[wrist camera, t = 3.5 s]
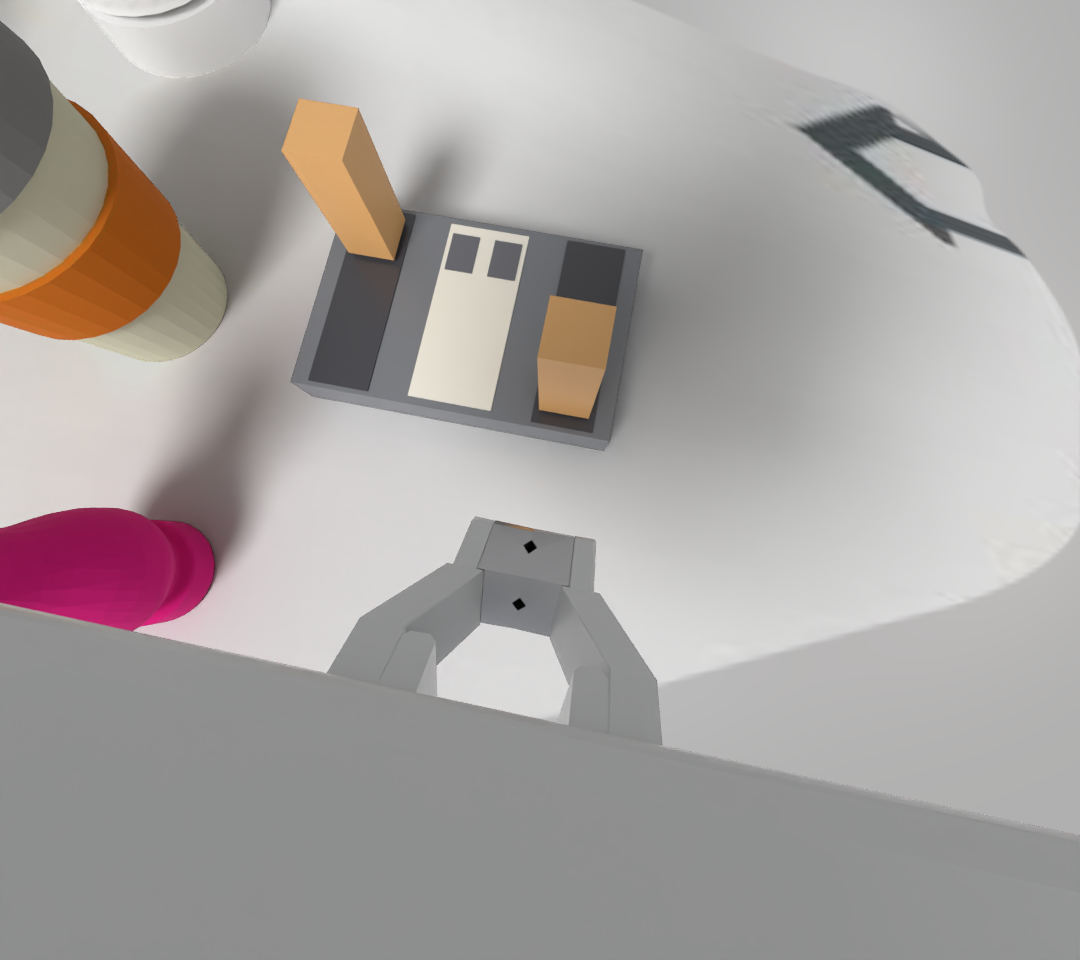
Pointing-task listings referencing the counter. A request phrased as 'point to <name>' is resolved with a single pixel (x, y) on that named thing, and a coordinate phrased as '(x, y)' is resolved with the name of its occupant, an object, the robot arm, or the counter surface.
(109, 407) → the counter surface
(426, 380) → the switch panel
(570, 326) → the slider
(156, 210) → the reusable coffee cup
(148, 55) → the honey pot
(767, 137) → the counter surface
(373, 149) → the slider
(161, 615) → the pepper mill
